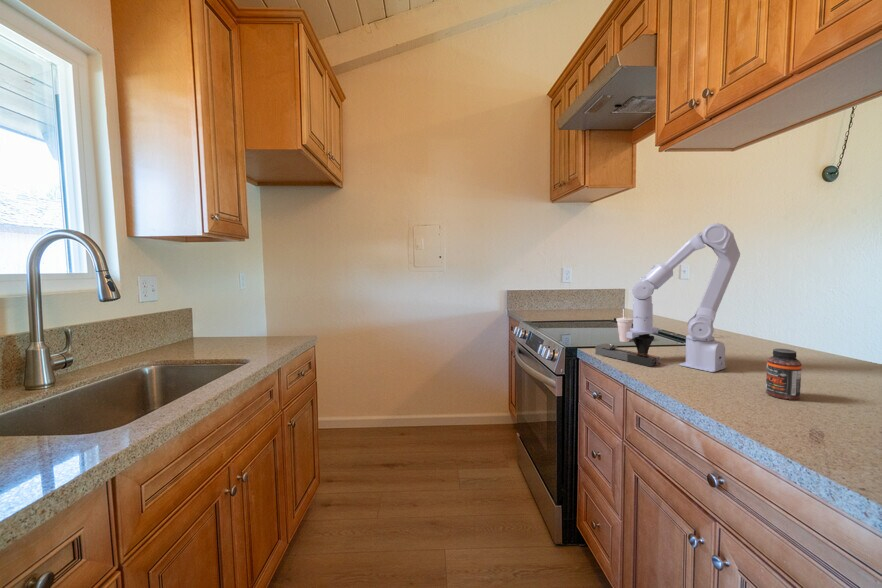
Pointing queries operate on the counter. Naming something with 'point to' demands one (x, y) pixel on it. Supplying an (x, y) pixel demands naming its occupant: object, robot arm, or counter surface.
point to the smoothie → (624, 327)
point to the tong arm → (657, 358)
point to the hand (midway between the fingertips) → (642, 356)
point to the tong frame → (623, 355)
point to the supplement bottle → (783, 375)
